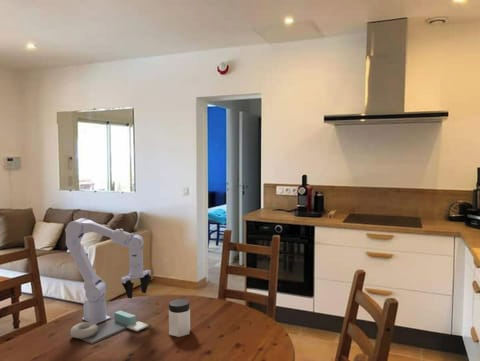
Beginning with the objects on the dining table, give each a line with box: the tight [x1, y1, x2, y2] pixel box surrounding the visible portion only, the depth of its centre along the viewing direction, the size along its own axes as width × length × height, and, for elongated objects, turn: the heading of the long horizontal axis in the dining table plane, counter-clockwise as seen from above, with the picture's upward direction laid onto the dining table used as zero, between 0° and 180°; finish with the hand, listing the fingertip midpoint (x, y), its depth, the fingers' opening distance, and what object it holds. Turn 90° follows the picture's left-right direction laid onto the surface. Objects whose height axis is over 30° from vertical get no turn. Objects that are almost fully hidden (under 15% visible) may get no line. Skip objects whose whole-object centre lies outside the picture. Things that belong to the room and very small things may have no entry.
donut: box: [69, 321, 98, 339], centre depth 153 cm, size 10×4×10 cm
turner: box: [113, 310, 150, 332], centre depth 162 cm, size 16×6×4 cm, turn 55°
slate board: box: [78, 318, 138, 345], centre depth 159 cm, size 11×22×1 cm, turn 145°
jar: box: [168, 298, 191, 338], centre depth 156 cm, size 9×8×12 cm
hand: (137, 295), depth 169 cm, fingers open, 7 cm apart
